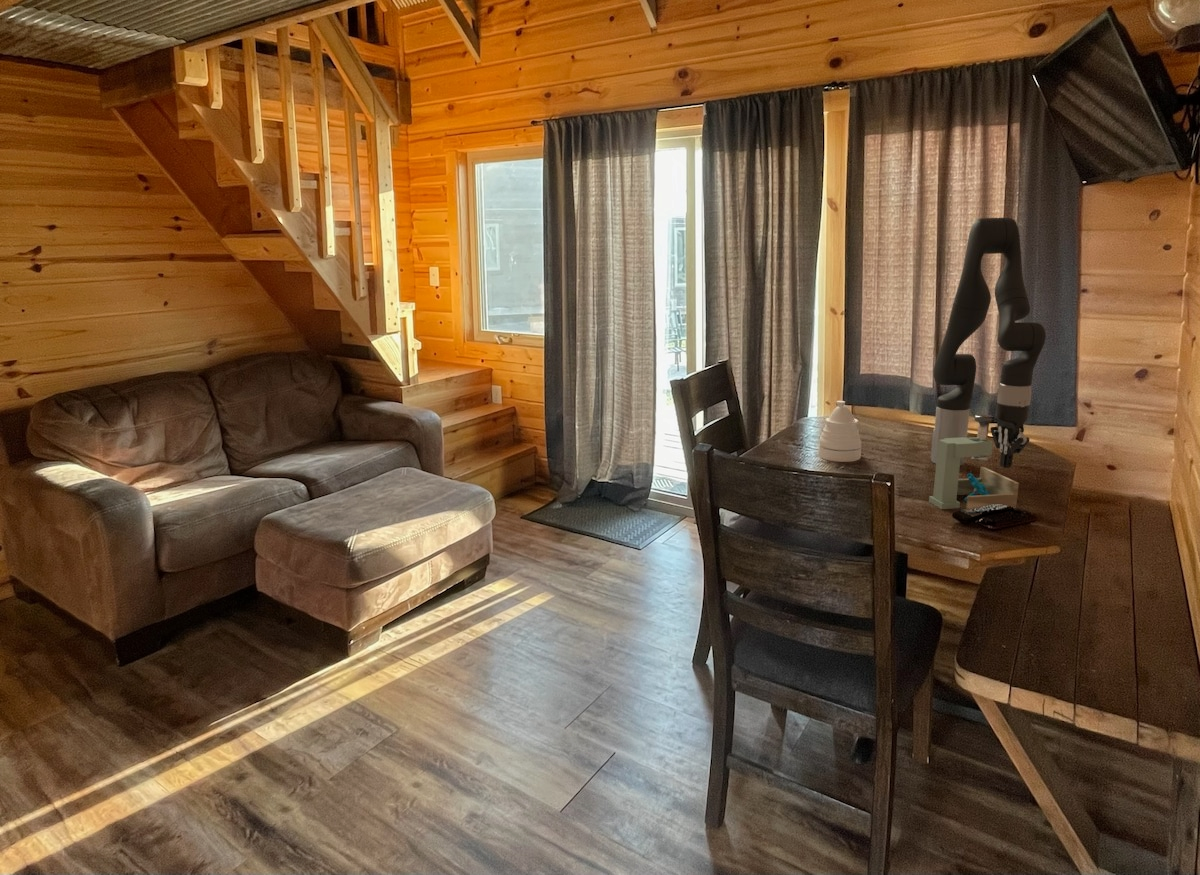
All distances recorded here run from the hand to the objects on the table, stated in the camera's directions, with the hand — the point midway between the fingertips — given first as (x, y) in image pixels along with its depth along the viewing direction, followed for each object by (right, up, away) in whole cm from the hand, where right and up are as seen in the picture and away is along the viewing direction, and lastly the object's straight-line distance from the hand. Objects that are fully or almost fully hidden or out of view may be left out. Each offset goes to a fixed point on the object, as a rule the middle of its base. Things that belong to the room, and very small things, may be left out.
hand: (1005, 467), depth 207 cm
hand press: (-12, -10, 0) cm, 15 cm away
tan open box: (-8, -9, +1) cm, 12 cm away
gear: (-6, -10, +2) cm, 11 cm away
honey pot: (-29, +1, +46) cm, 55 cm away
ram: (-7, +2, -2) cm, 8 cm away
